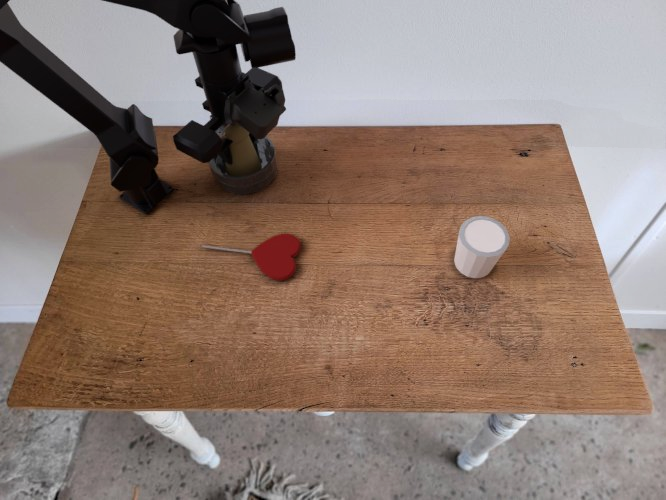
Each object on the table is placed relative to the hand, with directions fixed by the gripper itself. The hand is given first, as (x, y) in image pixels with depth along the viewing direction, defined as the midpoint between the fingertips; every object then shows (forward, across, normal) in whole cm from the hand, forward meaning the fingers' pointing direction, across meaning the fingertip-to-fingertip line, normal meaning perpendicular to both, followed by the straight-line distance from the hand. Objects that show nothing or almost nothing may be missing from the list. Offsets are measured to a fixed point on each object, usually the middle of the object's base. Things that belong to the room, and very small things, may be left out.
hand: (240, 152), depth 79 cm
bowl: (+5, 0, 0) cm, 5 cm away
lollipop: (+5, -13, -11) cm, 18 cm away
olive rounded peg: (+4, 0, 0) cm, 4 cm away
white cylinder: (+5, +4, -40) cm, 41 cm away
